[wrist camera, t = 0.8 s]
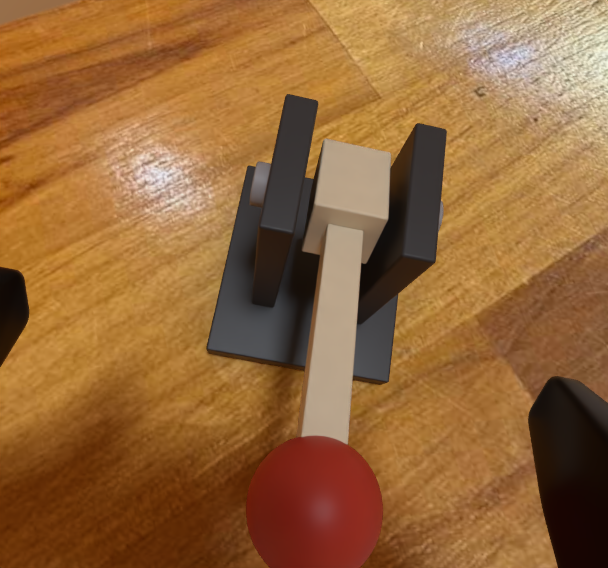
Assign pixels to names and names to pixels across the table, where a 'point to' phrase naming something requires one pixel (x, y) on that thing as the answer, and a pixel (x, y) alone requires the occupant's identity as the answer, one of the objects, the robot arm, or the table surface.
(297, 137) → the switch base
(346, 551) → the switch lever
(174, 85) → the table surface
